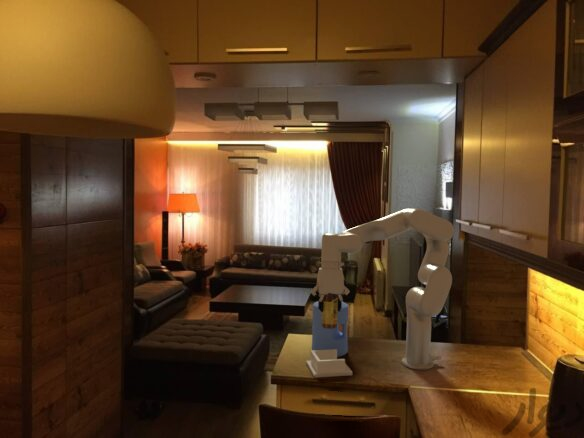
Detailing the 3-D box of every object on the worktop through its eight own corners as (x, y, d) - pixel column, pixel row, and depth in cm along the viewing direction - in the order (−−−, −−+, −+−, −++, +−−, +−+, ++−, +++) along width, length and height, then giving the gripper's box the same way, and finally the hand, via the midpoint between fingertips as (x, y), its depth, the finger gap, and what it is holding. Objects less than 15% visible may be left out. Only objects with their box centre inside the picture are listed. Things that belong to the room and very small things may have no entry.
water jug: (307, 355, 194) (308, 290, 193) (316, 344, 209) (317, 283, 208) (343, 360, 190) (345, 293, 188) (350, 348, 205) (351, 286, 203)
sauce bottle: (336, 330, 175) (337, 278, 174) (320, 328, 176) (321, 277, 175) (338, 325, 182) (339, 275, 180) (322, 324, 183) (323, 274, 182)
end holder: (341, 361, 188) (342, 348, 188) (352, 375, 175) (352, 360, 174) (306, 363, 186) (306, 349, 185) (314, 377, 172) (314, 362, 171)
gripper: (349, 263, 183) (348, 307, 184) (307, 263, 180) (306, 309, 181) (355, 266, 175) (354, 312, 176) (311, 267, 172) (310, 314, 173)
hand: (329, 310), depth 179 cm, fingers closed on sauce bottle, 6 cm apart
